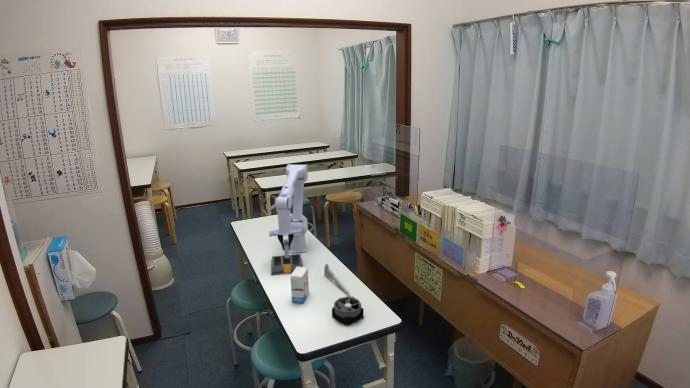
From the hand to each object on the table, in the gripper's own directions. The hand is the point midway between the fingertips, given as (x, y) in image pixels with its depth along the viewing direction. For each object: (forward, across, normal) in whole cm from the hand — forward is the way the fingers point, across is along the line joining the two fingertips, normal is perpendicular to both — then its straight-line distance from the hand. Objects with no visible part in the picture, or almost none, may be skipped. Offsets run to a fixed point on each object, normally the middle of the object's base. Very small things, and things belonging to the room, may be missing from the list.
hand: (286, 249), depth 184 cm
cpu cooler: (+9, +20, -45) cm, 50 cm away
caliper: (+9, +20, -21) cm, 31 cm away
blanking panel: (+3, 0, +1) cm, 3 cm away
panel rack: (+9, 0, 0) cm, 9 cm away
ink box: (+9, +4, -28) cm, 30 cm away
